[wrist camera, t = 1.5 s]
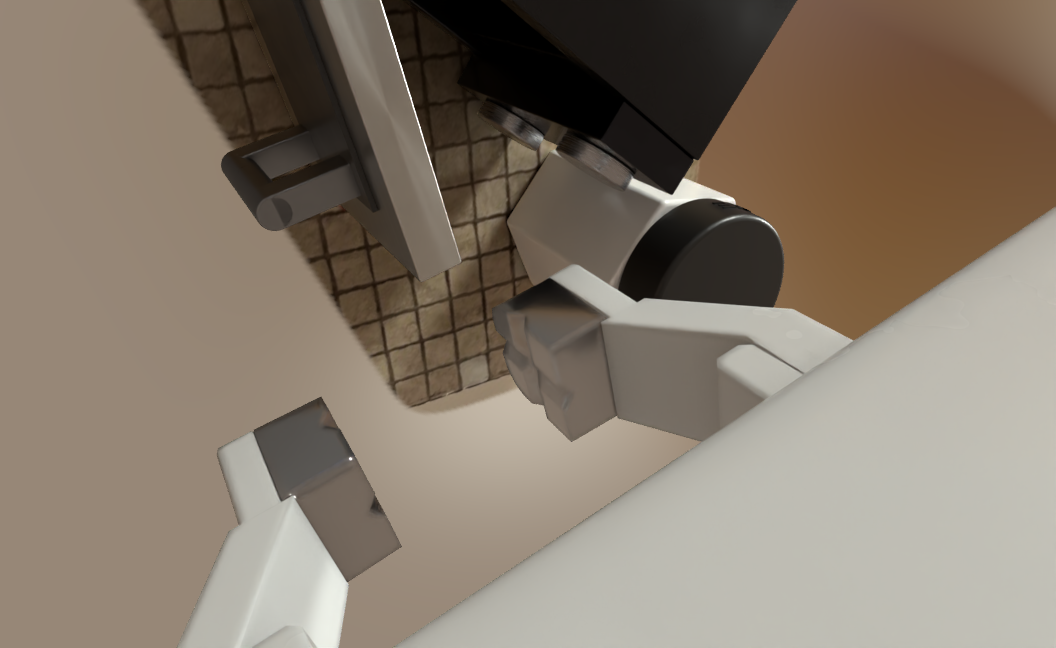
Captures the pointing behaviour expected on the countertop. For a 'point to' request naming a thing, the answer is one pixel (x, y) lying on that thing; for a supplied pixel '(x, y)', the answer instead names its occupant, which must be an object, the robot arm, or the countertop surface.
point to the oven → (610, 75)
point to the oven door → (343, 132)
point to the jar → (647, 238)
